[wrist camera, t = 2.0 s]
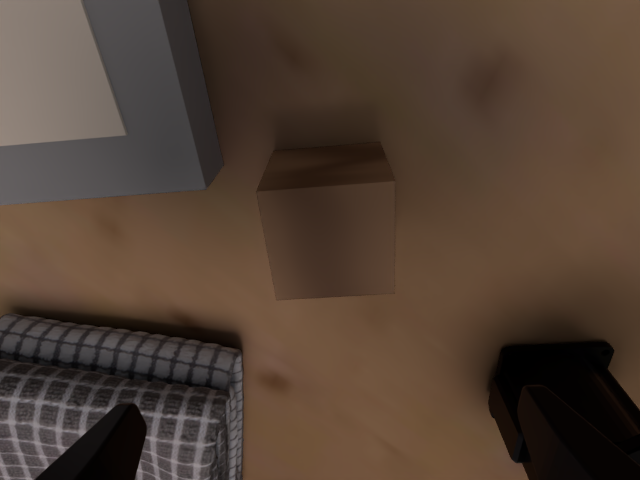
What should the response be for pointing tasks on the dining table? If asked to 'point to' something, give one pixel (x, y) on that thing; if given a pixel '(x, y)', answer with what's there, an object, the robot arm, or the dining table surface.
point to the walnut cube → (329, 221)
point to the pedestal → (102, 101)
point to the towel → (118, 397)
